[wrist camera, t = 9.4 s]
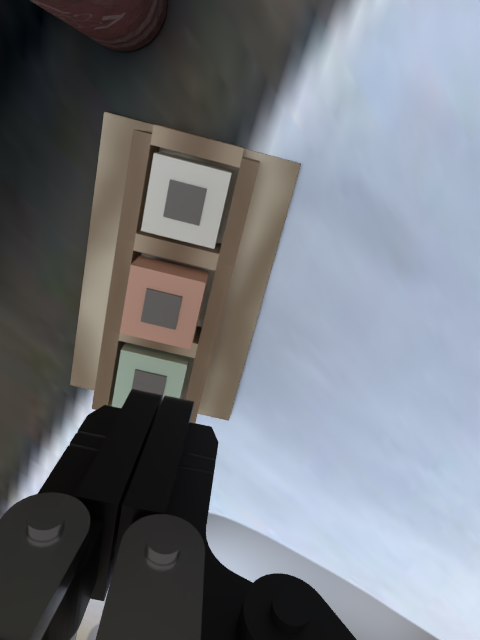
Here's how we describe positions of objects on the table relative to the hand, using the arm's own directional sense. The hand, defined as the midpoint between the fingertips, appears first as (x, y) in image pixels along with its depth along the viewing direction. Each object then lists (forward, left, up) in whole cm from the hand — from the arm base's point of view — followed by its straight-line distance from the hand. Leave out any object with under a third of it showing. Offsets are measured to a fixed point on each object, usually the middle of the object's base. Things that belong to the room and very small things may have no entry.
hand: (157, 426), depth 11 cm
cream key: (+3, -2, -24) cm, 24 cm away
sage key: (+3, +12, -24) cm, 27 cm away
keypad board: (+3, +5, -26) cm, 27 cm away
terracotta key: (+3, +5, -22) cm, 23 cm away
